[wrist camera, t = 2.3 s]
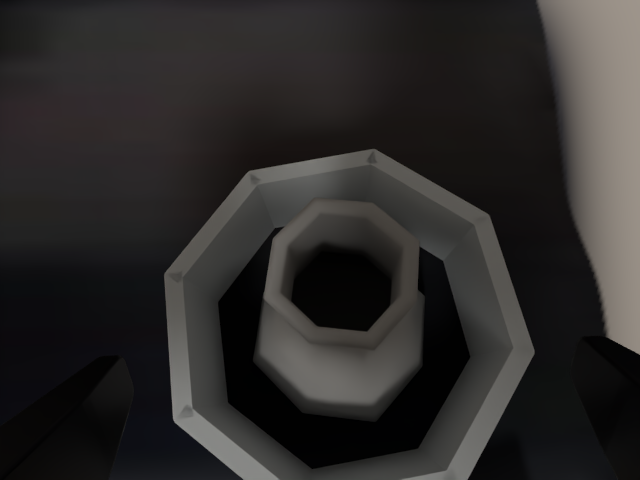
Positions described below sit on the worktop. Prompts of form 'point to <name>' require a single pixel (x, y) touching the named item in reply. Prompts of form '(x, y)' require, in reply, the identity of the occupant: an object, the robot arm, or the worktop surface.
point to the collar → (435, 237)
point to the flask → (342, 310)
